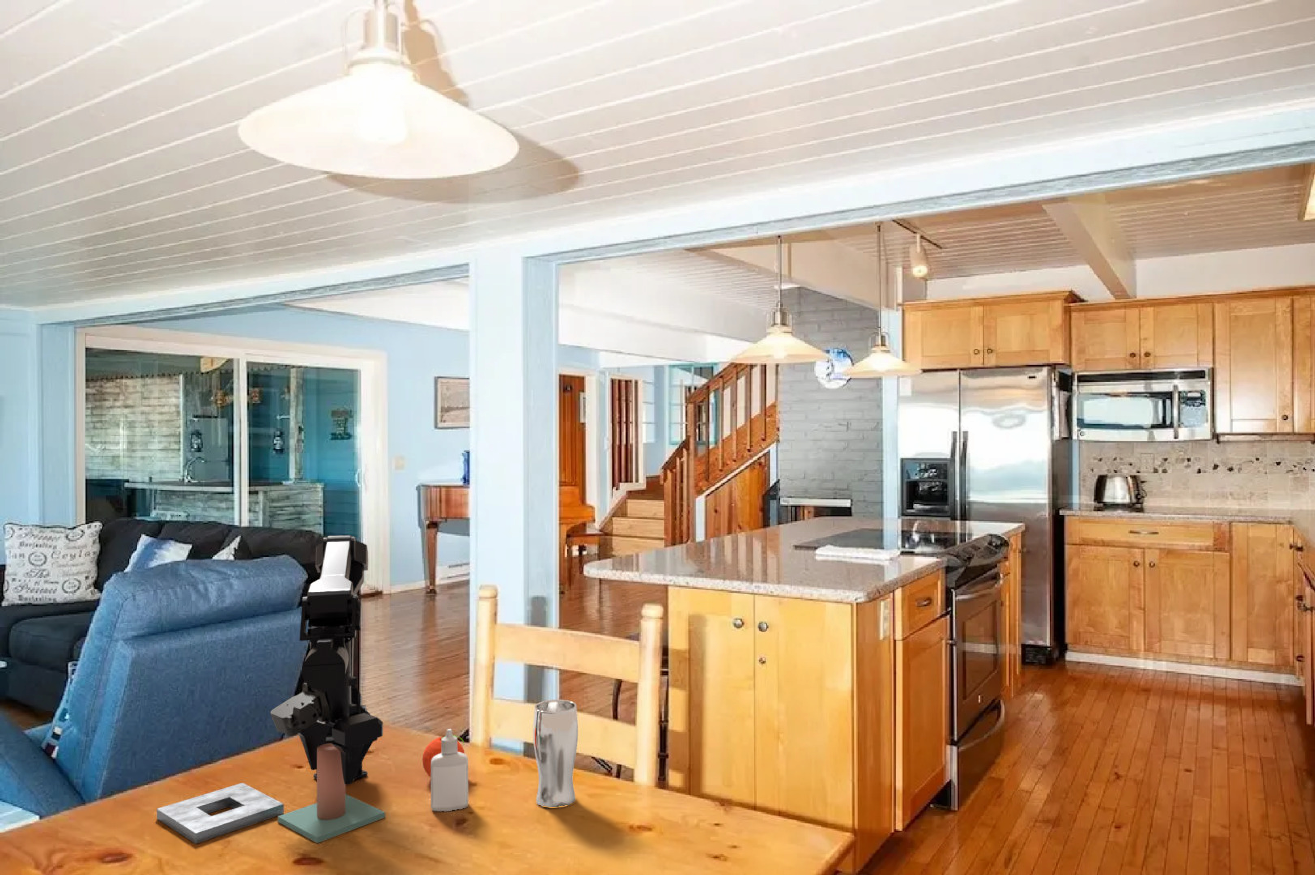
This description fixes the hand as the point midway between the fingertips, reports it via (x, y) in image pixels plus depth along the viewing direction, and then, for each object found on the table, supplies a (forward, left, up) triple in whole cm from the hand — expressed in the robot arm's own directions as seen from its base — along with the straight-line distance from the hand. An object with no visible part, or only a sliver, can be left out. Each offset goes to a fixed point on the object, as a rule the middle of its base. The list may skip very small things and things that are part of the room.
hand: (331, 776), depth 137 cm
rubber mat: (0, 0, -6) cm, 7 cm away
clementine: (-21, 0, -7) cm, 22 cm away
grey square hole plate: (+10, -14, -6) cm, 18 cm away
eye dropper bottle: (-14, +10, -7) cm, 18 cm away
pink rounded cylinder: (0, 0, -6) cm, 6 cm away
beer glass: (-26, +21, -7) cm, 34 cm away
